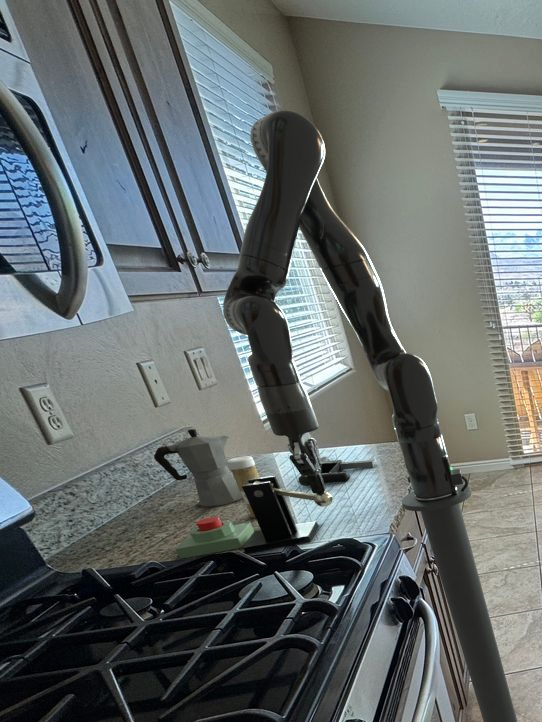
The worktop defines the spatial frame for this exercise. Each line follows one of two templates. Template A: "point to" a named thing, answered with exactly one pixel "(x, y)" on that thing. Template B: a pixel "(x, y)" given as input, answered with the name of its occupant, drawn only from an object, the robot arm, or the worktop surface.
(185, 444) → the coffeepot
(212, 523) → the red button
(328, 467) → the black handled frame
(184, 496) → the worktop surface
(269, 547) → the switch bracket
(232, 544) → the button box
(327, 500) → the switch lever
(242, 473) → the sprinkles bottle
